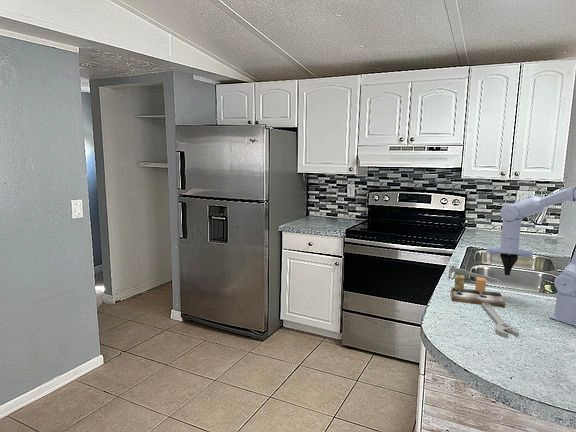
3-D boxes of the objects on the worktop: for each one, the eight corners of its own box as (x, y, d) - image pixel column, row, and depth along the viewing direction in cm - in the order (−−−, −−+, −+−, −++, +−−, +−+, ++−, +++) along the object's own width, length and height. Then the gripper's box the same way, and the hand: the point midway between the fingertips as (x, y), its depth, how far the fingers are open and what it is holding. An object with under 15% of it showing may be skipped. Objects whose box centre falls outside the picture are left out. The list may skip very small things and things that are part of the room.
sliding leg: (484, 289, 152) (485, 277, 151) (486, 296, 144) (487, 284, 144) (475, 288, 153) (476, 276, 152) (476, 295, 145) (478, 283, 145)
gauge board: (500, 296, 151) (501, 278, 150) (504, 307, 140) (506, 288, 139) (451, 290, 157) (452, 273, 156) (451, 300, 146) (453, 282, 145)
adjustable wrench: (480, 306, 142) (480, 301, 142) (500, 308, 141) (500, 303, 141) (497, 337, 118) (498, 331, 118) (522, 340, 117) (522, 334, 117)
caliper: (448, 279, 172) (449, 264, 171) (448, 278, 173) (449, 264, 172) (501, 283, 167) (502, 268, 166) (500, 282, 168) (501, 267, 167)
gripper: (531, 237, 146) (527, 273, 148) (486, 234, 151) (483, 269, 153) (535, 241, 139) (531, 279, 141) (488, 237, 144) (485, 274, 146)
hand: (506, 274), depth 147 cm, fingers closed
